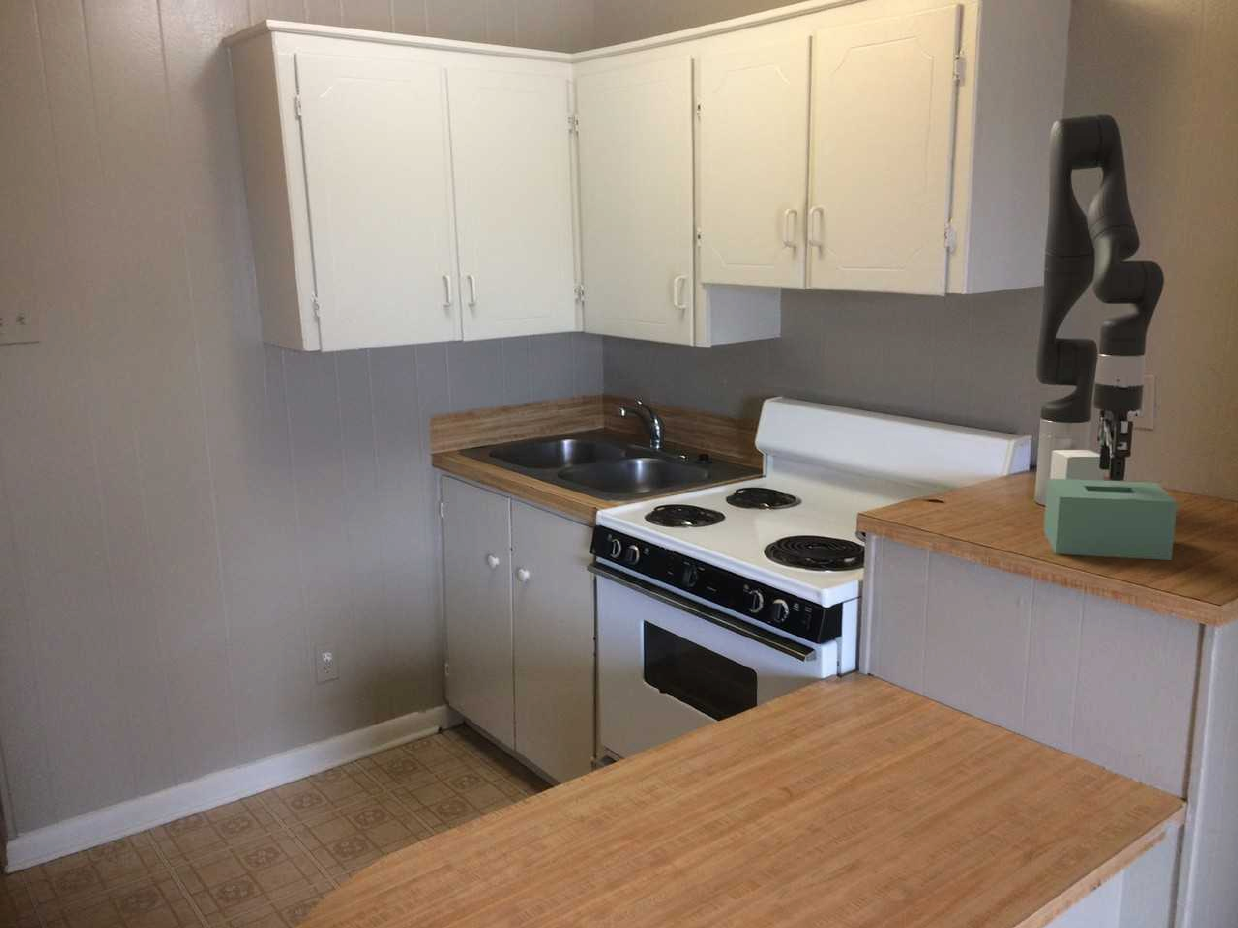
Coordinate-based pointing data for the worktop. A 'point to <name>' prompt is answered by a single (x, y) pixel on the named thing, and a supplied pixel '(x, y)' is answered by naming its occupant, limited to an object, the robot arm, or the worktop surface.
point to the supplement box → (1076, 465)
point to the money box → (1110, 518)
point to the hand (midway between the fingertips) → (1110, 474)
